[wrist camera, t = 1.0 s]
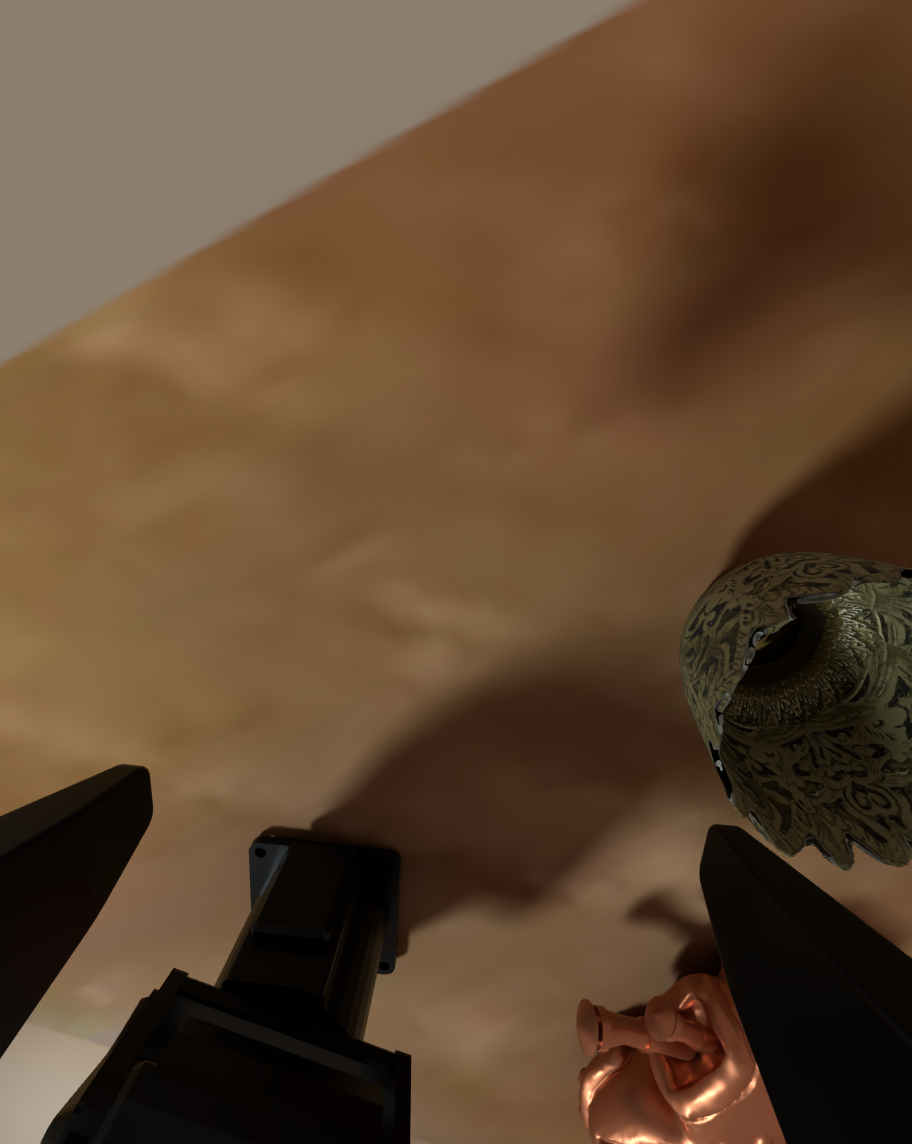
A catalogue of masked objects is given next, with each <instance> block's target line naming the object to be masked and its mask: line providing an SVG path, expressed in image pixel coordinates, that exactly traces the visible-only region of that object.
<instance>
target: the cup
mask: <svg viewBox="0 0 912 1144" xmlns="http://www.w3.org/2000/svg"><path fill="white" fill-rule="evenodd" d="M679 660H680V671H681V678H682V682H683V687H684V690H685V694H686V697H687V700H688V703H689V705H690V708H691V711H692V714H693V716H694V719H695V721H696V723H697V726H698V728H699V731H700V733H701V735H702V738H703V740H704V742H705V745H706V747H707V749H708V752H709V754H710V756H711V758H712V761H713V763H714V765H715V767H716V769H717V771H718V774H719V776H720V778H721V780H722V782H723V785H724V787H725V790H726V794H727V797H728V799H729V801H730V802H731V804H732V805H733V807H734V808H735V810H736V811H737V813H738V814H739V815H740V816H741V818H744V817H746V816H747V817H748V819H749V820H750V821H751V822H752V824H753V825H754V826H755V828H756V829H757V831H758V832H759V833H760V834H761V835H762V836H763V837H764V838H765V839H766V840H767V841H768V842H769V843H770V844H772V845H773V846H774V847H775V848H776V849H778V850H779V851H781V852H782V853H783V854H785V855H787V856H789V857H793V856H795V855H796V854H798V853H799V852H800V851H801V850H802V848H803V847H805V846H811V845H814V846H815V847H816V848H817V849H818V850H819V851H820V852H821V853H822V855H823V856H824V857H825V858H826V859H828V860H829V861H830V862H831V863H832V864H833V865H835V866H838V867H840V868H842V869H843V870H844V871H849V870H851V867H852V866H853V864H854V863H855V861H854V853H853V852H852V844H851V843H853V844H855V845H856V846H857V847H858V848H860V849H861V850H862V851H864V852H865V853H867V854H868V855H870V856H871V857H873V858H874V859H876V860H877V861H879V862H881V863H884V864H887V865H891V866H896V867H903V866H905V865H908V862H909V861H910V860H911V859H912V568H908V567H903V566H898V565H893V564H889V563H884V562H879V561H873V560H868V559H863V558H858V557H852V556H846V555H839V554H833V553H821V552H790V553H780V554H773V555H769V556H765V557H761V558H758V559H756V560H753V561H750V562H747V563H745V564H743V565H741V566H739V567H736V568H734V569H733V570H731V571H729V572H728V573H726V574H725V575H723V576H722V577H721V578H719V579H718V580H717V581H715V582H714V583H713V584H712V585H711V586H710V587H709V588H708V589H707V590H706V591H705V592H704V593H703V594H702V596H701V597H700V598H699V600H698V601H697V602H696V604H695V605H694V607H693V609H692V610H691V612H690V614H689V616H688V619H687V621H686V623H685V627H684V630H683V634H682V637H681V643H680V653H679ZM846 838H847V839H848V841H846Z"/></svg>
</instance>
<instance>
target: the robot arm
mask: <svg viewBox="0 0 912 1144" xmlns="http://www.w3.org/2000/svg"><path fill="white" fill-rule="evenodd" d="M152 815H153V801H152V791H151V780H150V773H149V771H148V769H147V768H146V767H144V766H137V765H128V764H121V765H117V766H115V767H113V768H110V769H108V770H106V771H104V772H101V773H99V774H97V775H94V776H92V777H90V778H87V779H85V780H83V781H80V782H78V783H76V784H74V785H71V786H69V787H67V788H64V789H62V790H60V791H57V792H55V793H53V794H51V795H48V796H46V797H44V798H41V799H39V800H37V801H34V802H32V803H30V804H28V805H25V806H23V807H21V808H18V809H16V810H14V811H11V812H9V813H7V814H4V815H2V816H0V1058H1V1057H2V1055H3V1054H4V1052H5V1051H6V1050H7V1048H8V1047H9V1045H10V1044H11V1042H12V1041H13V1039H14V1038H15V1036H16V1035H17V1034H18V1032H19V1030H20V1029H21V1028H22V1026H23V1025H24V1023H25V1022H26V1020H27V1019H28V1018H29V1016H30V1015H31V1013H32V1012H33V1010H34V1009H35V1007H36V1006H37V1004H38V1003H39V1001H40V1000H41V999H42V997H43V996H44V994H45V993H46V991H47V990H48V988H49V987H50V985H51V984H52V983H53V981H54V980H55V978H56V977H57V975H58V974H59V972H60V971H61V969H62V968H63V966H64V965H65V964H66V962H67V961H68V959H69V958H70V956H71V955H72V953H73V952H74V950H75V949H76V948H77V946H78V945H79V943H80V942H81V940H82V939H83V937H84V936H85V934H86V933H87V931H88V930H89V928H90V927H91V925H92V924H93V922H94V921H95V919H96V918H97V916H98V914H99V913H100V911H101V909H102V908H103V906H104V904H105V903H106V901H107V899H108V897H109V896H110V894H111V892H112V890H113V888H114V887H115V885H116V883H117V881H118V880H119V878H120V876H121V874H122V872H123V871H124V869H125V867H126V865H127V864H128V862H129V860H130V858H131V856H132V855H133V853H134V851H135V849H136V848H137V846H138V844H139V842H140V840H141V839H142V837H143V835H144V833H145V832H146V830H147V828H148V826H149V824H150V822H151V819H152ZM260 848H263V849H264V850H265V851H264V850H261V849H260ZM386 862H391V863H392V864H388V863H386ZM249 865H250V889H251V912H250V914H249V916H248V918H247V920H246V922H245V924H244V926H243V928H242V930H241V933H240V935H239V937H238V939H237V941H236V943H235V945H234V947H233V949H232V951H231V953H230V955H229V957H228V959H227V961H226V963H225V965H224V967H223V969H222V971H221V973H220V975H219V977H218V979H217V981H216V983H215V985H214V986H212V985H209V984H207V983H204V982H201V981H198V980H196V979H193V978H190V977H188V974H189V973H187V972H184V971H181V970H178V969H176V968H173V970H172V971H171V973H170V974H169V976H168V977H167V979H166V980H165V982H164V983H163V985H162V986H161V988H160V989H159V990H157V989H154V990H153V992H152V993H151V994H150V996H149V997H146V998H142V999H141V1000H140V1002H139V1003H138V1005H137V1007H136V1008H135V1010H134V1012H133V1013H132V1015H131V1017H130V1018H129V1020H128V1022H127V1023H126V1025H125V1027H124V1028H123V1030H122V1031H121V1033H120V1035H119V1036H118V1038H117V1039H116V1041H115V1043H114V1044H113V1046H112V1047H111V1049H110V1050H109V1051H108V1053H107V1054H106V1056H105V1057H104V1058H103V1060H102V1061H101V1062H100V1063H99V1064H98V1066H97V1067H96V1068H95V1069H94V1070H93V1072H92V1073H91V1074H90V1075H89V1076H88V1078H87V1079H86V1080H85V1081H84V1083H83V1084H82V1085H81V1086H80V1087H79V1088H78V1090H77V1091H76V1092H75V1093H74V1095H73V1096H72V1097H71V1098H70V1099H69V1101H68V1102H67V1103H66V1104H65V1105H64V1107H63V1108H62V1109H61V1110H60V1111H59V1113H58V1114H57V1115H56V1117H55V1118H54V1119H53V1121H52V1122H51V1124H50V1126H49V1127H48V1129H47V1131H46V1133H45V1135H44V1137H43V1139H42V1141H41V1144H410V1115H411V1055H409V1054H406V1053H403V1052H401V1051H398V1050H396V1051H395V1053H394V1052H391V1051H388V1050H386V1049H383V1048H380V1047H378V1046H375V1045H372V1044H369V1043H367V1042H364V1041H363V1039H364V1034H365V1029H366V1025H367V1020H368V1015H369V1010H370V1005H371V1001H372V996H373V991H374V986H375V981H376V977H377V974H390V973H392V972H393V971H394V969H395V964H396V958H397V939H398V919H399V900H400V880H401V856H400V855H399V853H397V852H396V851H393V850H389V849H379V848H370V847H361V846H351V845H342V844H333V843H323V842H314V841H305V840H296V839H286V838H277V837H268V836H259V837H257V838H256V839H255V840H254V841H253V843H252V845H251V846H250V849H249ZM699 874H700V883H701V887H702V891H703V894H704V898H705V902H706V906H707V909H708V913H709V917H710V921H711V924H712V928H713V932H714V935H715V939H716V943H717V947H718V950H719V954H720V958H721V962H722V965H723V969H724V973H725V976H726V980H727V983H728V987H729V990H730V993H731V996H732V999H733V1002H734V1004H735V1007H736V1010H737V1013H738V1016H739V1018H740V1021H741V1024H742V1026H743V1029H744V1032H745V1034H746V1037H747V1040H748V1043H749V1045H750V1048H751V1051H752V1053H753V1056H754V1059H755V1061H756V1064H757V1067H758V1069H759V1072H760V1075H761V1078H762V1080H763V1083H764V1086H765V1088H766V1091H767V1094H768V1096H769V1099H770V1102H771V1104H772V1107H773V1110H774V1113H775V1115H776V1118H777V1121H778V1123H779V1126H780V1129H781V1131H782V1134H783V1137H784V1139H785V1142H786V1144H912V958H911V957H909V956H908V955H907V954H905V953H904V952H903V951H901V950H900V949H899V948H898V947H896V946H895V945H894V944H892V943H891V942H890V941H888V940H887V939H886V938H884V937H883V936H882V935H881V934H879V933H878V932H877V931H875V930H874V929H873V928H871V927H870V926H869V925H867V924H866V923H865V922H864V921H862V920H861V919H860V918H858V917H857V916H856V915H854V914H853V913H852V912H850V911H849V910H848V909H847V908H845V907H844V906H843V905H841V904H840V903H839V902H837V901H836V900H835V899H833V898H832V897H831V896H830V895H828V894H827V893H826V892H824V891H823V890H822V889H820V888H819V887H818V886H816V885H815V884H814V883H813V882H811V881H810V880H809V879H807V878H806V877H805V876H803V875H802V874H801V873H799V872H798V871H797V870H796V869H794V868H793V867H792V866H790V865H789V864H788V863H786V862H785V861H784V860H782V859H781V858H780V857H779V856H777V855H776V854H775V853H773V852H772V851H771V850H769V849H768V848H767V847H765V846H764V845H763V844H762V843H760V842H759V841H758V840H756V839H755V838H754V837H752V836H751V835H750V834H748V833H747V832H746V831H745V830H743V829H742V828H740V827H737V826H730V825H720V824H714V825H712V826H711V827H710V828H709V830H708V833H707V837H706V842H705V846H704V850H703V854H702V859H701V863H700V871H699Z"/></svg>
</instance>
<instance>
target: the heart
mask: <svg viewBox="0 0 912 1144" xmlns="http://www.w3.org/2000/svg"><path fill="white" fill-rule="evenodd" d="M577 1034H578V1039H579V1043H580V1046H581V1049H582V1051H583V1052H584V1054H585V1055H586V1056H588V1057H591V1056H593V1055H594V1054H595V1052H596V1051H598V1052H599V1053H598V1054H597V1055H596V1056H595V1057H594V1058H593V1059H592V1060H591V1062H590V1063H589V1064H588V1066H587V1067H585V1068H582V1069H581V1072H580V1074H579V1077H578V1080H579V1082H580V1092H579V1099H580V1105H579V1115H580V1117H581V1119H582V1120H583V1122H584V1125H585V1127H586V1129H587V1130H588V1131H589V1133H590V1137H591V1140H592V1144H786V1142H785V1139H784V1137H783V1134H782V1131H781V1129H780V1126H779V1123H778V1121H777V1118H776V1115H775V1113H774V1110H773V1107H772V1104H771V1102H770V1099H769V1096H768V1094H767V1091H766V1088H765V1086H764V1083H763V1080H762V1078H761V1075H760V1072H759V1069H758V1067H757V1064H756V1061H755V1059H754V1056H753V1053H752V1051H751V1048H750V1045H749V1043H748V1040H747V1037H746V1034H745V1032H744V1029H743V1026H742V1024H741V1021H740V1018H739V1016H738V1013H737V1010H736V1007H735V1004H734V1002H733V999H732V996H731V993H730V990H729V987H728V983H727V980H726V976H725V973H724V969H723V965H722V966H721V969H720V972H719V975H718V976H716V975H708V974H706V973H698V974H690V975H687V976H685V977H683V978H681V979H680V980H678V981H677V982H676V983H675V984H674V985H673V986H672V987H671V988H670V989H669V990H668V991H667V992H666V993H665V994H663V995H662V996H656V997H654V998H652V999H651V1000H650V1001H649V1003H648V1005H647V1007H646V1010H645V1016H638V1017H637V1018H636V1017H630V1016H625V1015H620V1014H617V1013H614V1012H612V1011H609V1010H606V1009H605V1008H604V1007H603V1006H598V1005H592V1004H591V1002H590V1001H589V1000H587V999H583V1000H582V1001H581V1002H580V1004H579V1006H578V1010H577Z"/></svg>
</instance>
